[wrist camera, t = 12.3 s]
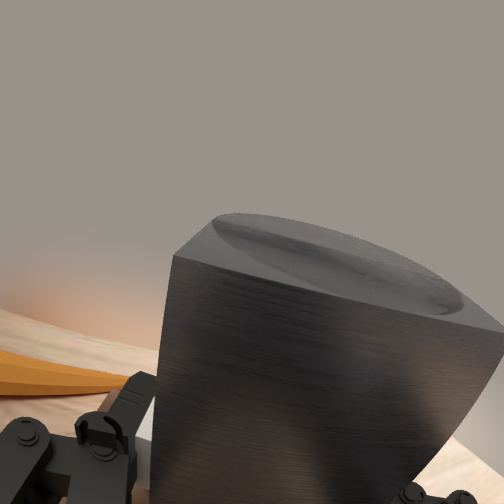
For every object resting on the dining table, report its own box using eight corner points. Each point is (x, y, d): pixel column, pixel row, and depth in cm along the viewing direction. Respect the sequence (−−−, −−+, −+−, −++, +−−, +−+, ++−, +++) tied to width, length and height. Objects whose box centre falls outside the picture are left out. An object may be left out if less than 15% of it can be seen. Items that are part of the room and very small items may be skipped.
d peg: (255, 594, 8) (513, 335, 3) (151, 575, 8) (172, 254, 3) (261, 522, 12) (404, 251, 8) (171, 504, 12) (231, 203, 8)
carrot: (-56, 398, 13) (-73, 373, 10) (-52, 350, 15) (-64, 319, 13) (163, 414, 24) (180, 395, 22) (152, 371, 27) (166, 347, 25)
